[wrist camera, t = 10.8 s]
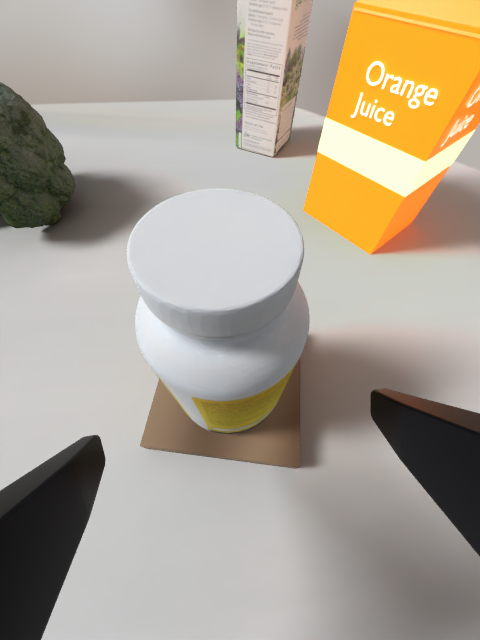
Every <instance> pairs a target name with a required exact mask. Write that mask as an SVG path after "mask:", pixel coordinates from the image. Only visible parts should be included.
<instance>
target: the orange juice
mask: <svg viewBox="0 0 480 640" xmlns="http://www.w3.org/2000/svg"><path fill="white" fill-rule="evenodd" d="M479 123H480V0H358V1H357V2H355V3H354V7H353V12H352V16H351V20H350V24H349V28H348V32H347V36H346V40H345V44H344V48H343V52H342V56H341V60H340V64H339V68H338V72H337V76H336V81H335V85H334V88H333V93H332V97H331V101H330V105H329V109H328V113H327V117H326V118H325V122H324V126H323V130H322V134H321V138H320V142H319V146H318V151H317V152H318V153H317V157H316V161H315V165H314V169H313V173H312V177H311V182H310V186H309V190H308V194H307V198H306V202H305V206H304V210H303V211H305V212H306V213H308V214H309V215H311V216H312V217H314V218H315V219H317V220H319V221H320V222H322V223H323V224H325V225H326V226H328V227H329V228H331V229H332V230H334V231H335V232H337V233H338V234H340V235H341V236H343V237H344V238H346V239H347V240H349V241H351V242H352V243H354V244H355V245H357V246H358V247H360V248H361V249H363V250H364V251H366V252H367V253H369V254H370V255H371V254H372V253H373V252H375V251H376V250H377V249H378V248H380V247H381V246H382V245H383V244H385V243H386V242H387V241H389V240H390V239H391V238H392V237H394V236H395V235H396V234H398V233H399V232H400V231H401V230H403V229H404V228H405V227H406V226H408V225H409V224H410V223H412V221H413V220H414V219H415V217H416V216H417V214H418V213H419V211H420V210H421V208H422V207H423V205H424V204H425V202H426V201H427V199H428V198H429V196H430V195H431V193H432V192H433V191H434V189H435V188H436V186H437V185H438V183H439V182H440V180H441V179H442V177H443V176H444V174H445V173H446V171H447V170H448V168H449V167H450V166H451V164H453V162H454V161H455V159H456V158H457V156H458V155H459V153H460V151H461V150H462V149H463V147H464V146H465V145H466V143H467V142H468V140H469V139H470V137H471V136H472V134H473V133H474V131H475V129H476V127H477V126H478V124H479Z"/></svg>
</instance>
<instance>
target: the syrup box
mask: <svg viewBox="0 0 480 640" xmlns="http://www.w3.org/2000/svg"><path fill="white" fill-rule="evenodd" d="M237 1H238V2H237V76H236V78H237V79H236V82H237V83H236V146H237V148H240V149H244V150H248V151H251V152H255V153H259V154H263V155H267V156H271V157H274V156H275V155H276V154H277V153H278V152H279V150H280V149H281V148H282V147H283V146H284V145H285V144H286V142H287V141H288V140H289V139H290V134H291V128H292V123H293V117H294V111H295V105H296V99H297V93H298V87H299V81H300V76H301V70H302V64H303V58H304V52H305V46H306V40H307V33H308V28H309V22H310V16H311V10H312V4H313V0H237Z"/></svg>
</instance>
